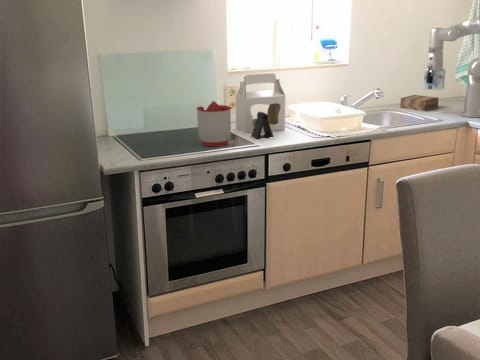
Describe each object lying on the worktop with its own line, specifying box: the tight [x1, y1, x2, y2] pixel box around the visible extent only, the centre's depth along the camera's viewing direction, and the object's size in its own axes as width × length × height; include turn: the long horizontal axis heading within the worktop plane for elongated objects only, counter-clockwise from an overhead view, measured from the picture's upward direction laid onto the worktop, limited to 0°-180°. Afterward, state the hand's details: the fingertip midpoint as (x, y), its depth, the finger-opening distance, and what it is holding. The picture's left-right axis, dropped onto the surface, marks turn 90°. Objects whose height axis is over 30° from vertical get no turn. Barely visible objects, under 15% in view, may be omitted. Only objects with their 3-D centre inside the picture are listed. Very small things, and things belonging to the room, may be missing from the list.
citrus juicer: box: [196, 100, 232, 147], centre depth 254 cm, size 16×17×20 cm
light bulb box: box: [423, 68, 446, 91], centre depth 312 cm, size 11×7×11 cm, turn 66°
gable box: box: [235, 73, 286, 134], centre depth 282 cm, size 22×13×28 cm, turn 112°
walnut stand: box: [399, 94, 439, 112], centre depth 336 cm, size 16×16×6 cm
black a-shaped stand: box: [251, 111, 274, 140], centre depth 267 cm, size 9×6×12 cm, turn 112°
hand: (433, 82), depth 313 cm, fingers closed on light bulb box, 8 cm apart
